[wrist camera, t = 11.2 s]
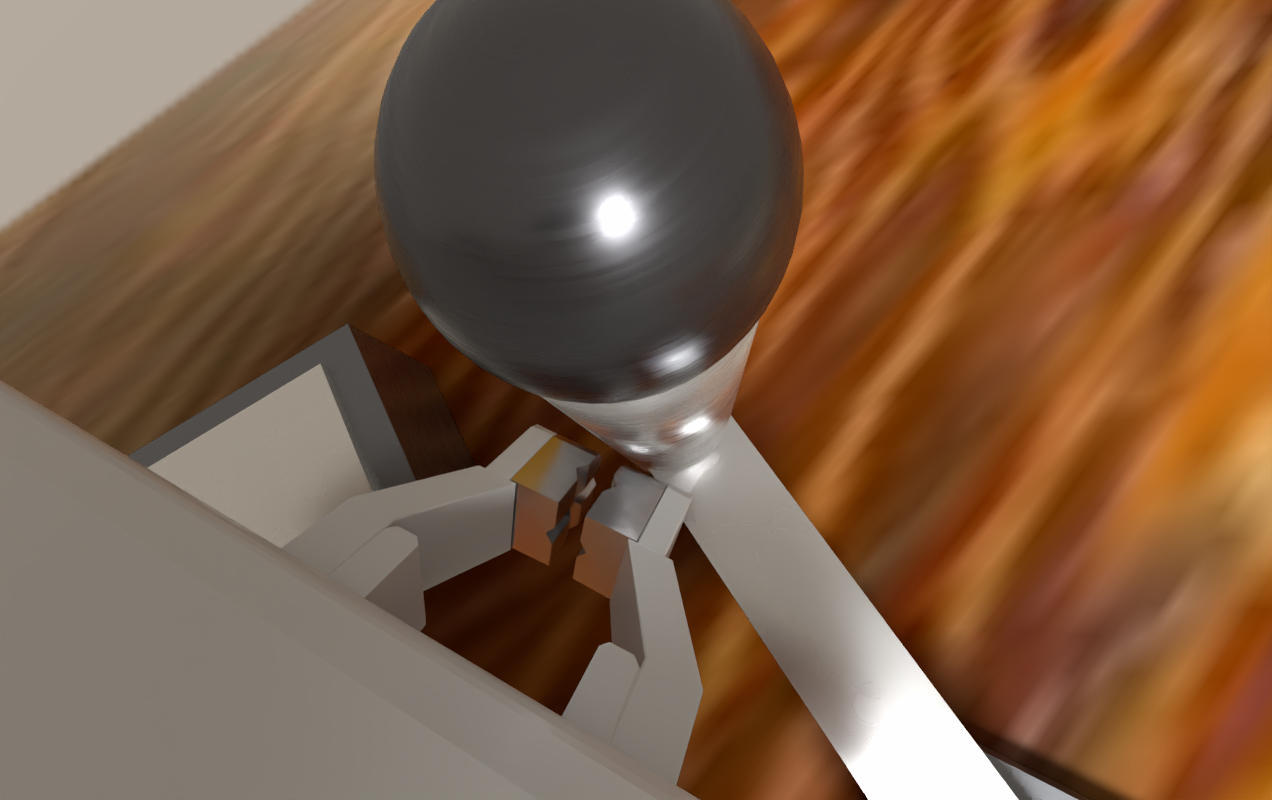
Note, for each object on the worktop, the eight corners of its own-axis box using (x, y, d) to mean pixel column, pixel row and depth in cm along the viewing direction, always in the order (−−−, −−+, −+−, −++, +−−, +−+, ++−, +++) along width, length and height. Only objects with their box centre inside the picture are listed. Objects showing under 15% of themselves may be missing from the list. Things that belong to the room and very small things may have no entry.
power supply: (499, 516, 15) (427, 517, 11) (233, 677, 15) (64, 737, 11) (428, 366, 17) (342, 320, 13) (187, 512, 17) (24, 511, 13)
